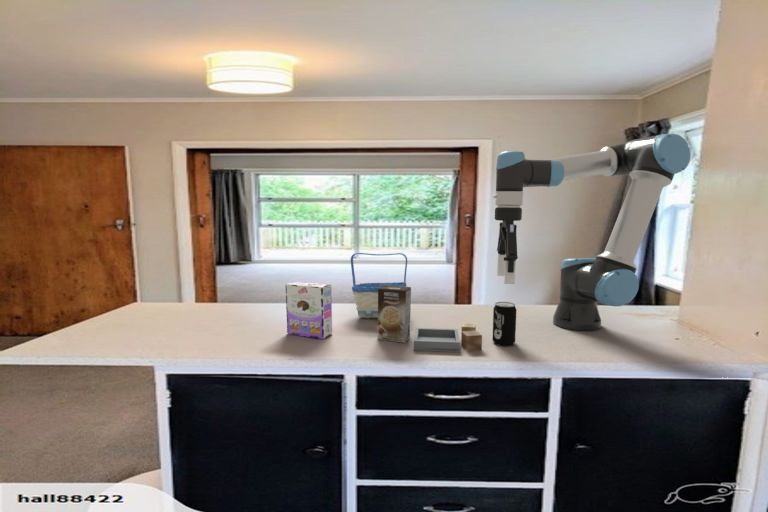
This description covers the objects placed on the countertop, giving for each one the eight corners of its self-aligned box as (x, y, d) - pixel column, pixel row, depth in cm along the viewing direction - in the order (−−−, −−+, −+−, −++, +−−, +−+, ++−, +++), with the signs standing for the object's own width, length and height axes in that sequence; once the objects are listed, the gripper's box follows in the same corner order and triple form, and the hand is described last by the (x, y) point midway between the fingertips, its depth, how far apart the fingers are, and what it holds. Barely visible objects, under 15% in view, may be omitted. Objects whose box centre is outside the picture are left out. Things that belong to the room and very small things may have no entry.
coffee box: (376, 339, 135) (376, 288, 133) (383, 333, 141) (383, 284, 139) (405, 343, 132) (405, 290, 130) (411, 336, 138) (411, 286, 136)
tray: (457, 337, 137) (457, 329, 137) (459, 352, 124) (460, 342, 124) (415, 336, 139) (415, 327, 138) (413, 350, 126) (413, 340, 125)
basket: (409, 312, 169) (410, 251, 166) (401, 323, 153) (402, 256, 150) (357, 309, 174) (357, 249, 171) (344, 320, 158) (343, 254, 155)
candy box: (333, 334, 141) (332, 283, 138) (323, 340, 135) (322, 287, 133) (297, 329, 146) (296, 280, 144) (286, 334, 141) (284, 283, 139)
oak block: (475, 336, 139) (475, 324, 139) (474, 340, 135) (474, 327, 135) (462, 335, 140) (463, 323, 140) (461, 339, 137) (461, 326, 136)
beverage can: (516, 347, 129) (517, 307, 127) (492, 345, 130) (494, 305, 128) (514, 340, 135) (515, 301, 133) (492, 339, 136) (493, 300, 135)
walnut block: (476, 345, 131) (476, 330, 130) (481, 350, 126) (482, 335, 126) (461, 346, 130) (461, 331, 129) (466, 351, 125) (466, 335, 125)
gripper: (489, 206, 140) (487, 272, 143) (501, 207, 115) (498, 287, 118) (514, 206, 139) (511, 273, 142) (531, 207, 115) (527, 288, 117)
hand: (505, 279), depth 130 cm, fingers open, 13 cm apart
